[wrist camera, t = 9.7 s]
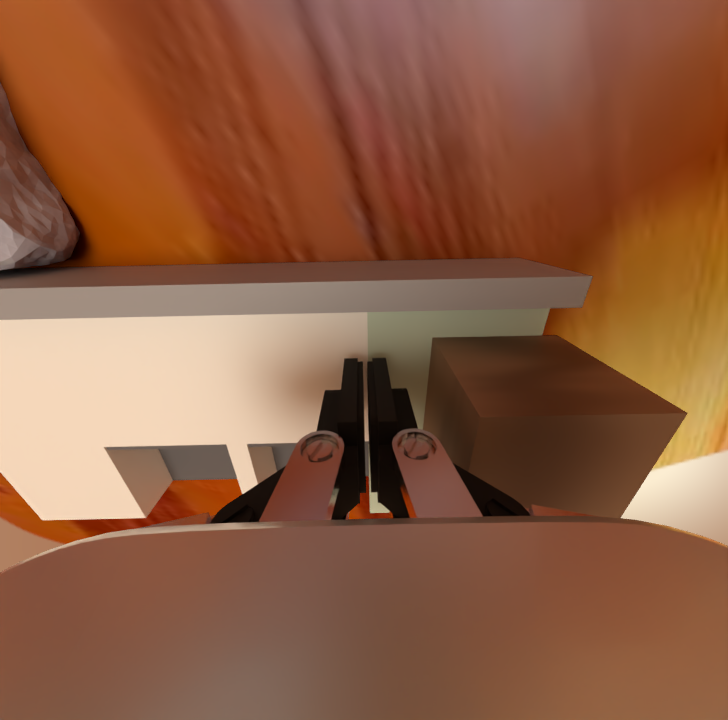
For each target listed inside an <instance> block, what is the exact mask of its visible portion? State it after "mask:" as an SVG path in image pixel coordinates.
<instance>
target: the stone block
mask: <svg viewBox="0 0 728 720" xmlns="http://www.w3.org/2000/svg"><path fill="white" fill-rule="evenodd" d="M79 236H80V232H79V230H78V228H77V227H76V226H75V222H74V220H73V218H72V216H71V215H70V213H69V210H68V208H67V206H66V205H65V203H64V202H63V200H62V196H61V194H60V192H59V191H58V190H57V189H56V188H55V186H54V185H53V184H52V183H51V181H50V179H49V177H48V176H47V174H46V172H45V171H44V169H43V168H42V166H41V165H40V164H39V162H38V161H37V159H36V158H35V157H34V156H33V155H32V154H31V153H30V152H29V150H28V149H27V147H26V145H25V143H24V141H23V140H22V138H21V136H20V134H19V131H18V128H17V126H16V123H15V121H14V118H13V116H12V113H11V110H10V106H9V102H8V99H7V96H6V93H5V91H4V89H3V87H2V85H1V83H0V270H7V269H13V268H23V267H30V266H42V265H49V264H52V263H57V262H61V261H65V260H66V259H68V258H70V257H71V255H72V252H73V250H74V248H75V245H76V243H77V242H78V240H79Z"/></svg>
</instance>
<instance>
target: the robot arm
mask: <svg viewBox="0 0 728 720" xmlns="http://www.w3.org/2000/svg"><path fill="white" fill-rule="evenodd" d="M367 382H368V430H369V454H370V479H371V493H372V492H377V497H378V503H381V504H382V505H383V506H384V507H386V508H387V509H388V510H389V511H390V518H389V519H349V511H350V510H352V509H353V508H354V507H355V506H356V505H357V504H358V503H360V493H366V473H365V428H364V384H363V362H358V358H344V366H343V375H342V384H341V390H325V392H324V396H323V401H322V406H321V411H320V416H319V421H318V426H317V431H316V432H312V433H309V434H307V435H305V436H304V437H303V438H301V439H300V440H299V442H298V443H297V444H296V446H295V448H294V450H293V452H292V454H291V456H290V458H289V460H288V462H287V465H286V466H285V467H283V468H282V469H280V470H279V471H277V472H276V473H274V474H273V475H271V476H270V477H268V478H266V479H265V480H263V481H262V482H260V483H259V484H257V485H256V486H254V487H253V488H251V489H250V490H248V491H247V492H245V493H244V494H242V495H241V496H239V497H238V498H236V499H235V500H233V501H232V502H230V503H229V504H227V505H226V506H225V507H223V508H222V509H221V510H220V511H219V512H218V513H217V514H216V515H214V516H210V515H209V513H203V514H199V515H195V516H190V517H186V518H182V519H177V520H173V521H169V522H164V523H160V524H156V525H151V526H147V527H142V528H138V529H130V530H124V531H118V532H111V533H106V534H102V535H98V536H94V537H90V538H85V539H81V540H77V541H74V542H71V543H68V544H65V545H62V546H59V547H56V548H54V549H51V550H48V551H45V552H42V553H40V554H37V555H35V556H33V557H30V558H28V559H26V560H24V561H21V562H19V563H17V564H16V565H13V566H11V567H9V568H7V569H6V570H4V571H2V572H0V720H728V546H727V545H724V544H722V543H720V542H717V541H714V540H712V539H709V538H706V537H703V536H701V535H697V534H694V533H690V532H687V531H683V530H679V529H676V528H673V527H669V526H664V525H659V524H654V523H649V522H644V521H638V520H631V519H622V518H612V517H598V516H593V515H587V514H582V513H576V512H571V511H565V510H559V509H554V508H548V507H543V506H537V505H530V508H524V507H523V506H522V505H521V504H520V503H519V502H518V501H516V500H515V499H513V498H512V497H510V496H509V495H507V494H505V493H503V492H502V491H500V490H498V489H497V488H495V487H493V486H492V485H490V484H488V483H486V482H485V481H483V480H481V479H480V478H478V477H476V476H474V475H473V474H471V473H469V472H468V471H466V470H464V469H463V468H461V467H459V466H457V465H456V464H454V463H452V461H451V460H450V458H449V456H448V454H447V453H446V451H445V449H444V447H443V446H442V444H441V442H440V441H439V440H438V438H437V437H436V436H434V435H433V434H432V433H430V432H428V431H425V430H422V429H418V426H417V423H416V419H415V415H414V412H413V408H412V405H411V401H410V398H409V394H408V390H407V389H406V388H393V389H392V388H391V383H390V377H389V372H388V367H387V361H386V358H372V361H367Z"/></svg>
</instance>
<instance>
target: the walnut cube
mask: <svg viewBox="0 0 728 720" xmlns="http://www.w3.org/2000/svg"><path fill="white" fill-rule="evenodd" d="M686 415H687V413H686V412H685V411H683V410H681V409H680V408H678V407H676V406H675V405H673V404H671V403H670V402H668V401H666V400H665V399H663V398H661V397H660V396H658V395H656V394H655V393H653V392H651V391H650V390H648V389H646V388H645V387H643V386H641V385H640V384H638V383H636V382H634V381H633V380H631V379H629V378H628V377H626V376H624V375H623V374H621V373H619V372H618V371H616V370H614V369H613V368H611V367H609V366H608V365H606V364H604V363H603V362H601V361H599V360H598V359H596V358H594V357H593V356H591V355H589V354H588V353H586V352H584V351H583V350H581V349H579V348H578V347H576V346H574V345H572V344H571V343H569V342H567V341H566V340H564V339H562V338H561V337H559V336H557V335H541V336H487V337H432V346H431V356H430V366H429V375H428V385H427V394H426V404H425V413H424V423H423V430H425V431H428V432H430V433H432V434H433V435H434V436H436V437H437V438H438V440H439V441H440V442H441V444H442V446H443V447H444V449H445V451H446V453H447V454H448V456H449V458H450V460H451V461H452V463H454V464H456V465H457V466H459V467H461V468H463V469H464V470H466V471H468V472H469V473H471V474H473V475H474V476H476V477H478V478H480V479H481V480H483V481H485V482H486V483H488V484H490V485H492V486H493V487H495V488H497V489H498V490H500V491H502V492H503V493H505V494H507V495H509V496H510V497H512V498H513V499H515V500H516V501H518V502H519V503H520V504H521V505H522V506H523V507H524V508H530V505H537V506H543V507H548V508H554V509H559V510H565V511H571V512H576V513H582V514H587V515H593V516H598V517H612V518H621V516H622V515H623V513H624V511H625V510H626V508H627V507H628V505H629V504H630V502H631V500H632V499H633V497H634V496H635V494H636V493H637V491H638V490H639V488H640V487H641V485H642V483H643V482H644V480H645V479H646V477H647V475H648V474H649V472H650V471H651V469H652V468H653V466H654V465H655V463H656V462H657V460H658V458H659V457H660V455H661V454H662V452H663V451H664V449H665V448H666V446H667V444H668V443H669V441H670V440H671V438H672V437H673V435H674V434H675V432H676V430H677V429H678V427H679V426H680V424H681V423H682V421H683V420H684V418H685V416H686Z"/></svg>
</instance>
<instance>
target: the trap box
mask: <svg viewBox="0 0 728 720" xmlns="http://www.w3.org/2000/svg"><path fill="white" fill-rule="evenodd" d="M592 277H593V276H590V275H586V274H582V273H578V272H574V271H570V270H566V269H562V268H558V267H554V266H550V265H546V264H542V263H538V262H534V261H530V260H526V259H522V258H484V259H436V260H389V261H342V262H294V263H247V264H199V265H152V266H104V267H57V268H13V269H7V270H0V472H1V473H2V475H3V476H4V477H5V478H6V479H7V480H8V481H9V483H10V484H11V485H12V486H13V487H14V488H15V489H16V491H17V492H18V493H19V494H20V495H21V496H22V497H23V499H24V500H25V501H26V502H27V503H28V504H29V505H30V507H31V508H32V509H33V510H34V511H35V512H36V514H37V515H38V516H39V517H40V518H41V519H42V520H74V519H119V518H146V517H147V516H148V514H149V513H150V511H151V510H152V509H153V507H154V506H155V505H156V503H157V502H158V500H159V499H160V498H161V496H162V495H163V493H164V492H165V491H166V489H167V488H168V486H169V485H170V484H171V482H172V481H173V480H205V479H238V482H239V485H240V488H241V491H242V494H244V493H245V492H247V491H248V490H250V489H251V488H253V487H254V486H256V485H257V484H259V483H260V482H262V481H263V480H265V479H266V478H268V477H270V476H271V475H273V474H274V473H276V472H277V471H279V470H280V469H282V468H283V467H285V466H286V465H287V462H288V460H289V458H290V456H291V454H292V452H293V450H294V448H295V446H296V444H297V443H298V442H299V440H300V439H301V438H303V437H304V436H305V435H307V434H309V433H312V432H316V431H317V426H318V421H319V416H320V411H321V406H322V401H323V396H324V392H325V390H341V384H342V375H343V366H344V358H358V362H363V384H364V428H365V473H366V476H369V496H370V513H390V511H389V510H388V509H387V508H386V507H384V506H383V505H382V504H381V503H378V497H377V492H372V493H371V479H370V454H369V430H368V382H367V361H372V358H386V361H387V367H388V372H389V377H390V383H391V388H392V389H393V388H406V389H407V390H408V394H409V398H410V401H411V405H412V408H413V412H414V415H415V419H416V423H417V426H418V429H422V430H423V423H424V413H425V404H426V394H427V385H428V375H429V366H430V356H431V346H432V337H487V336H541V335H542V334H543V331H544V327H545V324H546V320H547V317H548V314H549V310H550V308H582V306H583V303H584V300H585V298H586V295H587V292H588V289H589V286H590V283H591V280H592Z"/></svg>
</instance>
